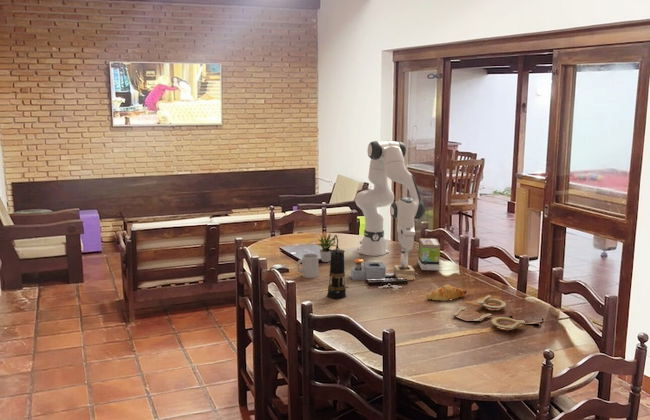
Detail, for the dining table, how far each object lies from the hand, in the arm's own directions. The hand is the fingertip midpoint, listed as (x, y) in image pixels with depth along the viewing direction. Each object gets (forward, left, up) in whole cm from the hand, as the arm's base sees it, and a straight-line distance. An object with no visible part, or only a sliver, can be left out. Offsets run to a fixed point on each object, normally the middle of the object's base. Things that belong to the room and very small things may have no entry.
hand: (404, 254), depth 321 cm
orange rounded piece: (0, -24, -12) cm, 27 cm away
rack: (0, 0, -13) cm, 13 cm away
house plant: (-32, -38, -13) cm, 51 cm away
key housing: (0, -24, -13) cm, 28 cm away
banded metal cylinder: (0, 0, -12) cm, 12 cm away
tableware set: (+60, +29, -13) cm, 68 cm away
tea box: (-18, +18, -13) cm, 28 cm away
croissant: (+33, +13, -13) cm, 38 cm away
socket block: (0, -16, -13) cm, 20 cm away
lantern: (+27, -39, -13) cm, 49 cm away
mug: (-5, -51, -13) cm, 53 cm away
